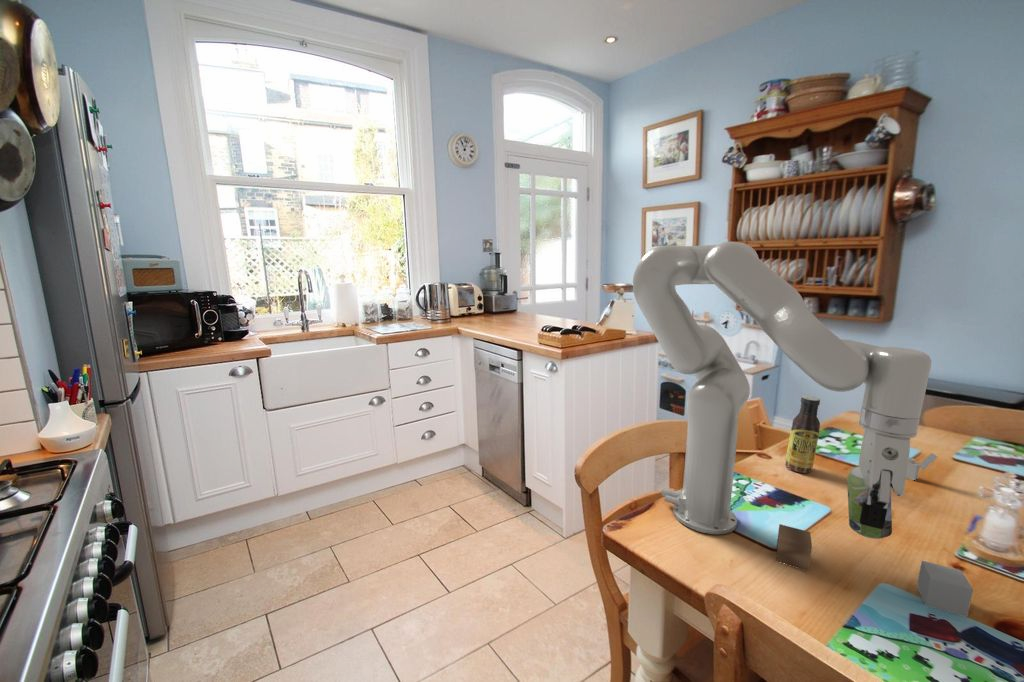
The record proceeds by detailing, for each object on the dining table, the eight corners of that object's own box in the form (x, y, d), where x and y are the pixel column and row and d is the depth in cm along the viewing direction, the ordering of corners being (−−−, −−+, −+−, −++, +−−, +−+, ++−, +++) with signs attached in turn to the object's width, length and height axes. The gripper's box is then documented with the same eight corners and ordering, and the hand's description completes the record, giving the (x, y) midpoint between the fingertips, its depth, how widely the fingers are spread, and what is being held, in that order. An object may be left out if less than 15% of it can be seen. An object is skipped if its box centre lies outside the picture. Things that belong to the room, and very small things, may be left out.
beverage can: (898, 545, 77) (910, 482, 75) (850, 541, 79) (861, 479, 76) (877, 523, 83) (887, 464, 81) (832, 519, 85) (842, 461, 82)
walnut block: (776, 562, 83) (779, 537, 82) (776, 547, 88) (779, 524, 87) (808, 571, 81) (812, 546, 80) (806, 555, 85) (810, 532, 84)
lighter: (894, 474, 117) (899, 445, 115) (897, 473, 118) (902, 444, 116) (930, 486, 111) (936, 456, 109) (932, 484, 112) (938, 454, 110)
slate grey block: (925, 605, 73) (930, 578, 72) (916, 586, 78) (921, 560, 77) (966, 617, 71) (973, 589, 70) (955, 597, 75) (961, 570, 74)
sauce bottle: (787, 472, 118) (796, 399, 114) (782, 462, 124) (791, 392, 120) (816, 476, 116) (827, 402, 112) (810, 466, 121) (820, 395, 118)
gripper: (932, 444, 66) (908, 553, 70) (904, 410, 81) (885, 503, 84) (869, 433, 70) (849, 538, 74) (852, 403, 84) (837, 492, 88)
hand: (868, 518), depth 79 cm, fingers closed on beverage can, 3 cm apart
